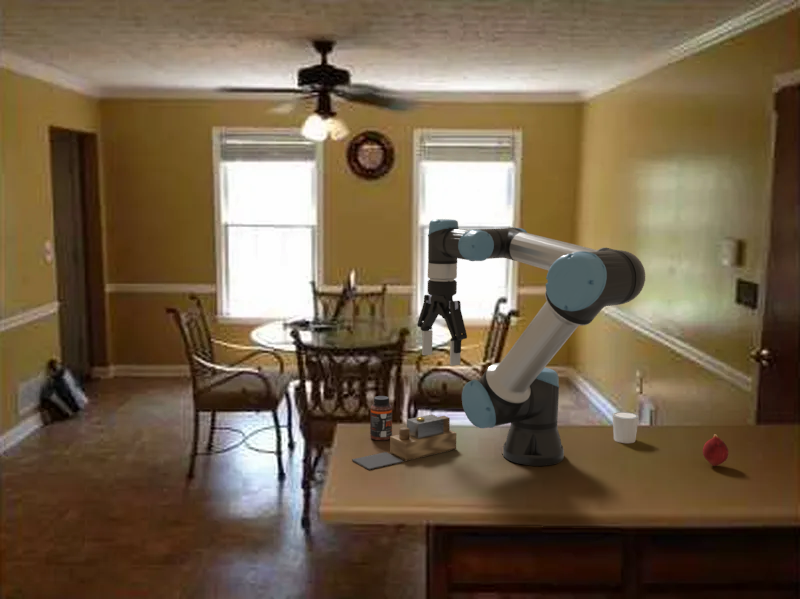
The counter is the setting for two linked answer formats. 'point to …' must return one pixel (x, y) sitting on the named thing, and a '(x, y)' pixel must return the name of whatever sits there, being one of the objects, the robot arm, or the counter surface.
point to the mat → (377, 460)
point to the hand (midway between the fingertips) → (440, 359)
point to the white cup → (625, 427)
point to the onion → (715, 451)
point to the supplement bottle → (381, 419)
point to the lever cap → (425, 426)
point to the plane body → (422, 443)
